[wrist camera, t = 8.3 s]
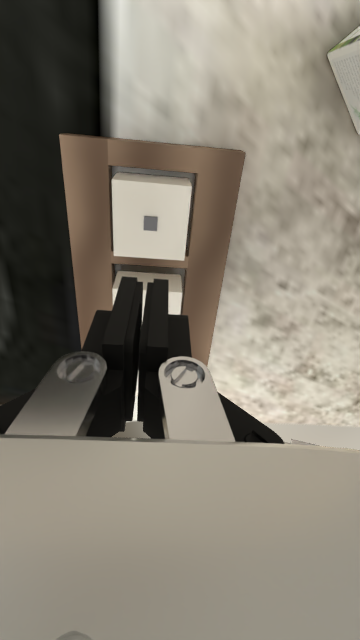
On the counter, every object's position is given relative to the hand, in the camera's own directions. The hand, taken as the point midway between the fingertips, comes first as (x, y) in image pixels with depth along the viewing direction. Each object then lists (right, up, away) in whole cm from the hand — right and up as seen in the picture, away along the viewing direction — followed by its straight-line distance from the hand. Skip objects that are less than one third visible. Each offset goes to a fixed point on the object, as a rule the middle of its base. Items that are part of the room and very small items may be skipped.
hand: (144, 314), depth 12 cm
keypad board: (-1, +2, +16) cm, 16 cm away
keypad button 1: (-1, +8, +12) cm, 14 cm away
